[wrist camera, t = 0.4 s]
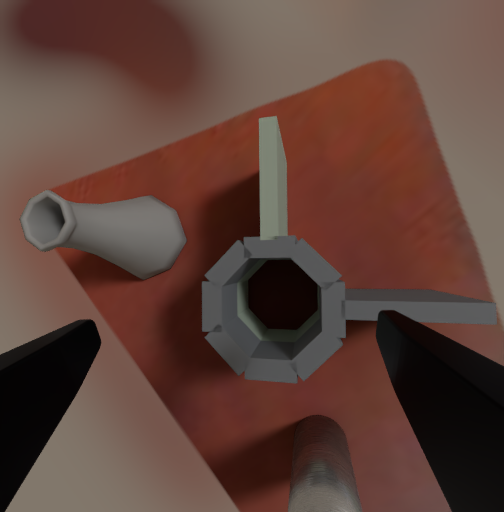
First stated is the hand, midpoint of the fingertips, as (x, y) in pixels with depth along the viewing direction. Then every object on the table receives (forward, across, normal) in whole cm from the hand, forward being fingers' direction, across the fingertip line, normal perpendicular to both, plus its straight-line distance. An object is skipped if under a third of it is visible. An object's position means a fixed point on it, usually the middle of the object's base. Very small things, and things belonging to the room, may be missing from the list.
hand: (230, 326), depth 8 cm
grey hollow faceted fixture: (+12, -5, +6) cm, 14 cm away
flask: (+16, +10, +2) cm, 19 cm away
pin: (+7, -4, +16) cm, 18 cm away
